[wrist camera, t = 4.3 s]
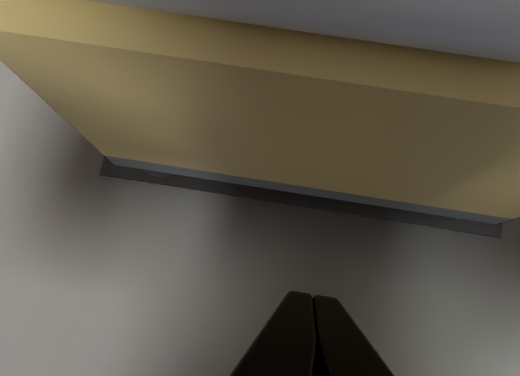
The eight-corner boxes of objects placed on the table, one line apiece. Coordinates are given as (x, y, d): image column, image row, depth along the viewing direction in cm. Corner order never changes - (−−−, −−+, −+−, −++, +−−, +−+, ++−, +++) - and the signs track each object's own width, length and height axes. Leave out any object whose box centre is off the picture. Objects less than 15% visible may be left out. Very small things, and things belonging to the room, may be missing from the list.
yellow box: (475, 262, 15) (863, 104, 6) (117, 205, 15) (-88, -34, 6) (472, 20, 18) (708, -329, 9) (181, -22, 19) (115, -400, 9)
